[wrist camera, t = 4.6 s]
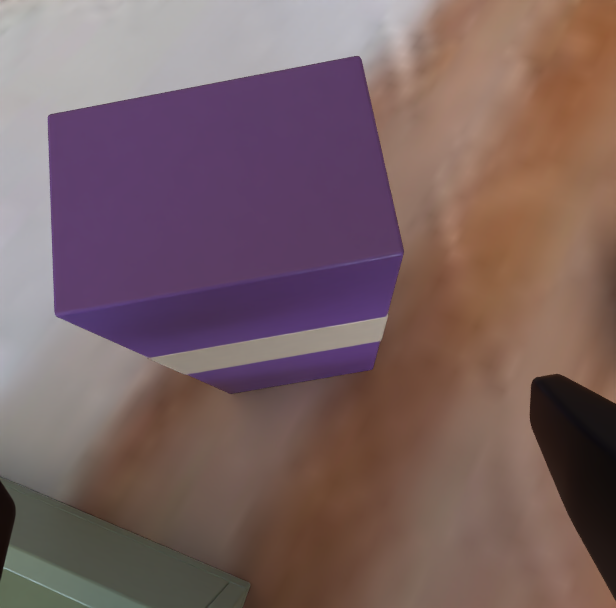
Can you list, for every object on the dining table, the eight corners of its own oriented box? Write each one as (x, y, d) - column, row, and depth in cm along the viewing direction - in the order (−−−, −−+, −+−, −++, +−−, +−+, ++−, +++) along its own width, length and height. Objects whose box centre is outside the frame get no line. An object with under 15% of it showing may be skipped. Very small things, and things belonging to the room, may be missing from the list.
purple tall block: (374, 370, 20) (407, 255, 8) (229, 394, 20) (51, 318, 8) (356, 277, 21) (361, 51, 9) (217, 301, 21) (44, 112, 9)
